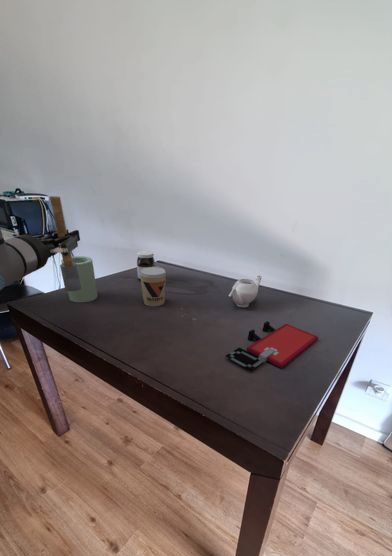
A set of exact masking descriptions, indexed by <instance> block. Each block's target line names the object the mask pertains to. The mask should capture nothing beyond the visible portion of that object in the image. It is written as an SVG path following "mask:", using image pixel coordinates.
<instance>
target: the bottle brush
mask: <svg viewBox="0 0 392 556" xmlns="http://www.w3.org/2000/svg"><path fill="white" fill-rule="evenodd" d="M49 201H50V205H51V210H52V216H53V220H54V225H55V230H56V233H57V235H58V238H60V237H64V236H65V234H67V230H66V229H67V225H66V220H65V216H64V210H63V205H62V199H61V196H59V195H50V196H49ZM72 257H73V256H72V251H71V252H69V255H67V256H64V255H63V254H61V260H62V259H63V263H64V264H62V263H61V264H60V265H59V267H60V272H61V276H62V281H63V286H64V290H65V291H66V292H68V291H78V290H80V289H81V284H80V279H79V273H78V268H77V264H76V263H73V262H72Z"/></svg>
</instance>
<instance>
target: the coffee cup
mask: <svg viewBox="0 0 392 556" xmlns="http://www.w3.org/2000/svg"><path fill="white" fill-rule="evenodd" d="M158 267H159V266H158ZM158 267H157V266H155V267H147V268H143V269H141V271H140V277H141V281H140V285H141V292H142V293H141V294H142V300H143V303H144V305H146V306H148V307H160V306H162V305H164V304H165V302H166V301H165V299H166V283H167V282H166V281H167V280H166V279H167V272H166V269H164V268H162V267H160V268H158Z"/></svg>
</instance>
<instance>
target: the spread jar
mask: <svg viewBox="0 0 392 556" xmlns="http://www.w3.org/2000/svg"><path fill="white" fill-rule="evenodd" d="M147 267H158V268H161V267H160V266H158V265H157V266H156V259H155V255H154V252H153V251H151V250H140V251H138V252H137V259H136V270H137V279H138V280H139V281H140V282H141V277H140V271H141V269H143V268H147Z"/></svg>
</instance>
